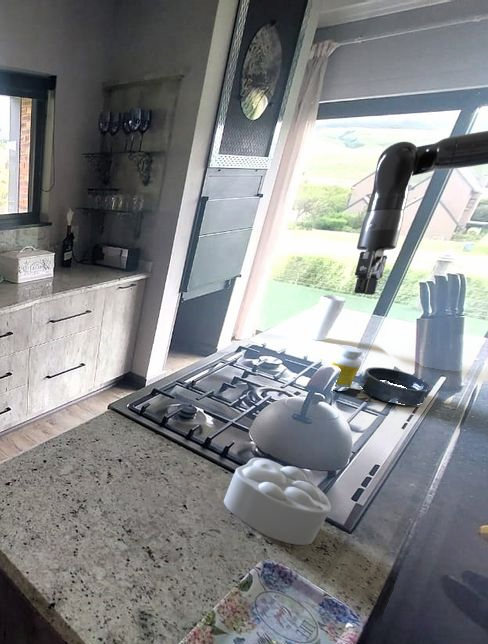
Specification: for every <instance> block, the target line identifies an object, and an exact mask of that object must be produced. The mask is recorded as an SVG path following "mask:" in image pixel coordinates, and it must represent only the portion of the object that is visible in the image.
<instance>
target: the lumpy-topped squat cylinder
mask: <svg viewBox="0 0 488 644" xmlns="http://www.w3.org/2000/svg"><path fill="white" fill-rule="evenodd" d="M223 504H224V506H225V507H226V509H227V510H228V511H229V512H230V513H232V514H233V516H235V517H236V518H238V519H239V520H241V521H242V522H244V523H245V524H246V525H248V526H249V527H251V528H252V529H254V530H255V531H257V532H259V533H260V534H262V535H264V536H266V537H268V538H271V539H274V540H276V541H279V542H283V543H286V544H289V545H295V546H296V545H297V546H307V545H310V544H312V543H313V542H314V540H315V538H316V536H317V535H318V533H319V531H320V530H321V528H322V526H323V524H324V522H325V521H326V519H327V517H328V516H329V513H330V512H331V510H332V505H331V503H330V500H329V498H328V497H327V495H326V494H325V493H324V492H323V491H322V490H321V489H320V488H319V487H318V486H317V485H316V484H315V483H314V482H312V481H311V480H310V479H308V478H307V476H306V475H305V473H304V472H303V471H302V470H301V468H298V467H296V466H291V465H287V466H284V465H282V464H280V463H278V462H276V461H273V460H271V459H268V458H263V457H253V458H251V459H249V460H248V462H247V463H246V464H243V465H241V466H238V467H237V468H236V469H235V471H234V473H233V476H232V479H231V481H230V483H229V486H228V488H227V491H226V494H225V496H224V499H223Z"/></svg>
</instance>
